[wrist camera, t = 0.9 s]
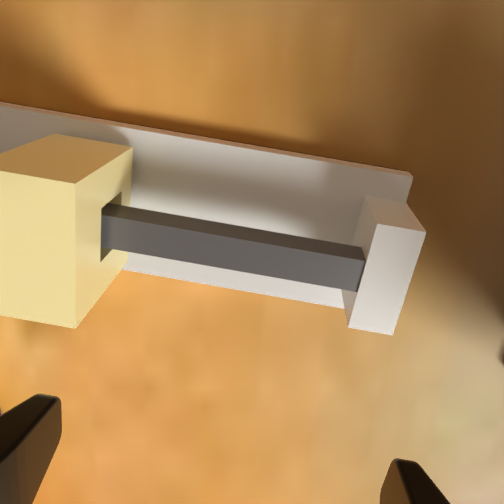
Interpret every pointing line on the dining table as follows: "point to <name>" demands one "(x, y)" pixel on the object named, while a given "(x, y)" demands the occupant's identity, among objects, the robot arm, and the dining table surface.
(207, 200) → the linear slide rail
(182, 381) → the dining table surface
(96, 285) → the sleeve
